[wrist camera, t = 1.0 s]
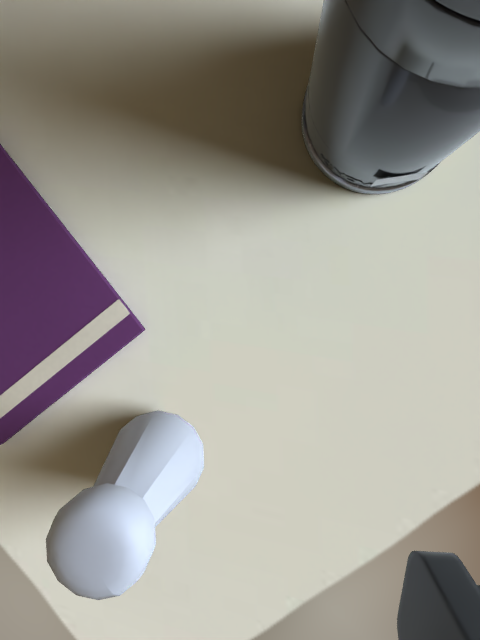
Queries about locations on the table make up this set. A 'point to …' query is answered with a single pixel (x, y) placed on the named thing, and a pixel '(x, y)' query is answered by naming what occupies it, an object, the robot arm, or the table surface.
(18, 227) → the tea towel
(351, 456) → the table surface
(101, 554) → the salt shaker
